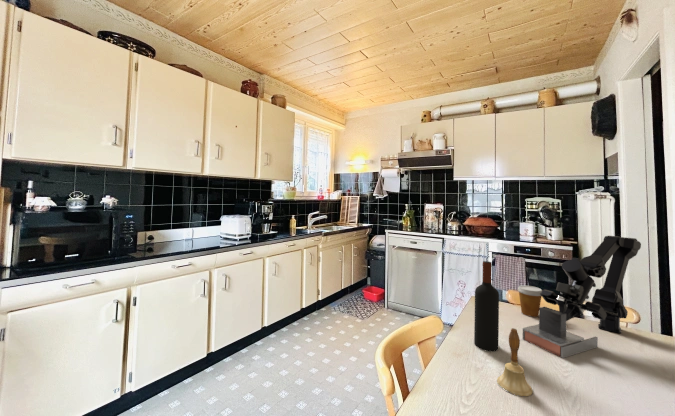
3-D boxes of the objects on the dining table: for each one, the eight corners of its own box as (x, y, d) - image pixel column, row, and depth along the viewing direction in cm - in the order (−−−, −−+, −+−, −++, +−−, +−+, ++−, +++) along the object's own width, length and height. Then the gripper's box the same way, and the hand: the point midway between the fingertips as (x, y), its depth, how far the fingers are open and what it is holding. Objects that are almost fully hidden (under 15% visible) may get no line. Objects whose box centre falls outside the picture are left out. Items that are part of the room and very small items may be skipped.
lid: (544, 324, 105) (545, 302, 105) (584, 339, 93) (584, 314, 93) (522, 329, 100) (522, 306, 100) (560, 346, 89) (561, 320, 89)
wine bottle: (475, 348, 94) (476, 263, 94) (473, 338, 101) (474, 259, 101) (500, 353, 91) (501, 265, 91) (496, 342, 98) (497, 260, 98)
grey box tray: (555, 330, 108) (555, 321, 108) (597, 347, 95) (597, 337, 95) (522, 339, 101) (522, 329, 101) (562, 358, 89) (563, 347, 89)
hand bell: (519, 400, 69) (520, 339, 69) (490, 381, 77) (490, 325, 77) (539, 391, 73) (540, 333, 72) (509, 373, 80) (510, 320, 80)
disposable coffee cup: (548, 318, 119) (548, 291, 119) (526, 318, 119) (526, 291, 119) (532, 310, 129) (533, 285, 129) (512, 309, 129) (513, 285, 129)
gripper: (543, 269, 109) (524, 300, 105) (602, 281, 91) (582, 319, 88) (555, 286, 112) (537, 316, 108) (615, 301, 94) (596, 338, 91)
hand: (560, 322), depth 98 cm, fingers closed
